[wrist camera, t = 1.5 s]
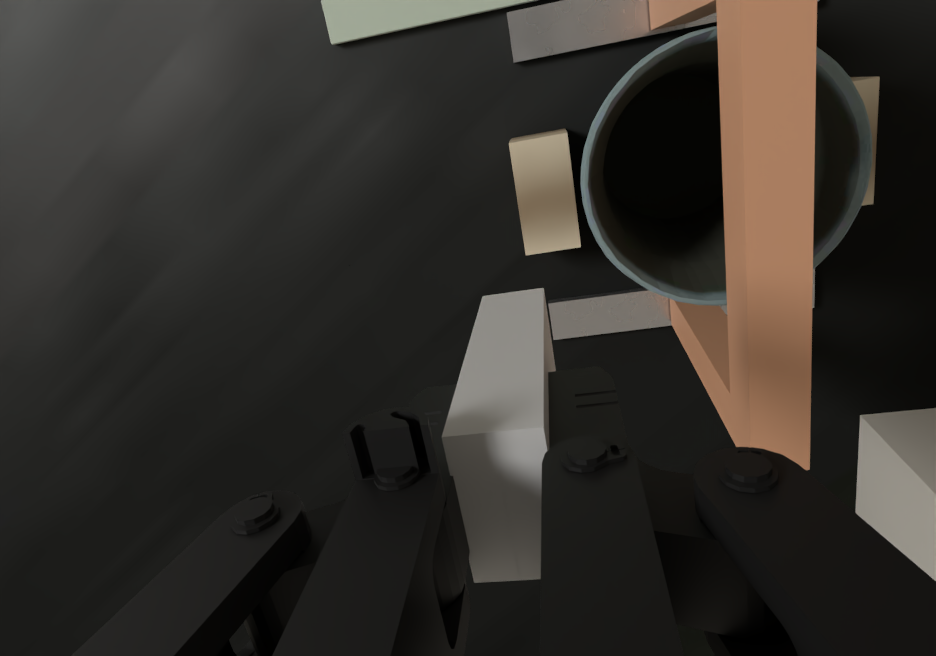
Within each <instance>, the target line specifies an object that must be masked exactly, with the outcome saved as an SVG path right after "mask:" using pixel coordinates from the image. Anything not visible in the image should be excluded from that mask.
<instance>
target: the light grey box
mask: <svg viewBox="0 0 936 656" xmlns="http://www.w3.org/2000/svg"><path fill="white" fill-rule="evenodd" d="M856 514H857V515H858V516H860V517H861V518H862V519H863V520H864V521H866V522H867V523H868V524H869V525H870V526H871V527H873V528H874V529H875V530H876V531H877V532H878V533H880V534H881V535H882V536H883V537H884V538H886V539H887V540H888V541H889V542H890V543H891V544H893V545H894V546H895V547H896V548H897V549H898V550H900V551H901V552H902V553H903V554H904V555H906V556H907V557H908V558H909V559H910V560H911V561H913V562H914V563H915V564H916V565H917V566H918V567H920V568H921V569H922V570H923V571H924V572H925V573H927V574H928V575H929V576H930V577H931V578H933V579H934V580H935V581H936V408H931V409H920V410H909V411H899V412H888V413H878V414H867V415H860V430H859V451H858V472H857V492H856Z"/></svg>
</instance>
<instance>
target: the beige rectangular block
mask: <svg viewBox="0 0 936 656" xmlns="http://www.w3.org/2000/svg"><path fill="white" fill-rule="evenodd" d="M850 78H851V80H852V82H853V83H854V85H855V87H856V89H857V91H858V93H859V94H860V96H861V98H862V100H863V102H864V105H865V108H866V111H867V115H868V118H869V122H870V127H871V134H872V167H871V173H870V178H869V184H868V188H867V191H866V194H865V197H864V200H863V203H862V206H863V205H870V204H873V202H874V182H875V161H876V141H877V121H878V101H879V81H880V77H850ZM509 148H510V155H511V161H512V168H513V174H514V181H515V187H516V194H517V200H518V207H519V213H520V220H521V227H522V233H523V240H524V246H525V253H526V255H532V254H538V253H545V252H552V251H559V250H565V249H572V248H579V247H581V242H580V234H579V226H578V217H577V209H576V201H575V192H574V184H573V176H572V167H571V159H570V151H569V142H568V134H567V131H566V129H560V130H554V131H549V132H543V133H538V134H532V135H527V136H521V137H516V138H511V140H510V142H509Z"/></svg>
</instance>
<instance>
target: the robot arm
mask: <svg viewBox="0 0 936 656" xmlns="http://www.w3.org/2000/svg"><path fill="white" fill-rule="evenodd" d="M342 435H343V439H344V442H345V446H346V449H347V453H348V456H349V460H350V463H351V467H352V470H353V474H354V477H355V482H354V484H353V487H352V489H351V491H350V493H349V495H348V497H347V499H346V500H343V501H340V502H337V503H335V504H331V505H328V506H324V507H321V508H317V509H314V510H311V511H307V512H305V509H304V506H303V503H302V500H301V499H300V498H299V497H298V496H297V495H296V494H295V493H292V492H288V491H285V490H281V491H267V492H262V493H261V494H259V493H258V494H255V495H252V496H250V497H248V498H247V499H245V500H243V501H241V502H239V503H237V504H235V505H234V506H233V507H231V508H230V509H229V510H227V511H226V512H224V513H223V514H222V515H221V516H220V517H219V518H218V519H217V520H215V521H214V522H213V523H212V524H211V525H210V526H209V527H208V528H207V529H206V530H205V531H204V532H203V533H202V534H201V535H199V536H198V537H197V538H196V539H195V540H194V541H193V542H192V543H191V544H190V545H189V546H188V547H187V548H186V549H185V550H183V551H182V552H181V553H180V554H179V555H178V556H177V557H176V558H175V559H174V560H173V561H172V562H171V563H170V564H169V565H168V566H166V567H165V568H164V569H163V570H162V571H161V572H160V573H159V574H158V575H157V576H156V577H155V578H154V579H153V580H152V581H150V582H149V583H148V584H147V585H146V586H145V587H144V588H143V589H142V590H141V591H140V592H139V593H138V594H137V595H136V596H134V597H133V598H132V599H131V600H130V601H129V602H128V603H127V604H126V605H125V606H124V607H123V608H122V609H121V610H120V611H118V612H117V613H116V614H115V615H114V616H113V617H112V618H111V619H110V620H109V621H108V622H107V623H106V624H105V625H104V626H103V627H101V628H100V629H99V630H98V631H97V632H96V633H95V634H94V635H93V636H92V637H91V638H90V639H89V640H88V641H87V642H85V643H84V644H83V645H82V646H81V647H80V648H79V649H78V650H77V651H76V652H75V653H74V654H73V655H72V656H464V653H465V646H466V639H467V631H468V624H469V617H470V609H471V608H470V599H469V594H468V589H467V585H466V581H465V578H466V572H467V566H468V559H469V562H470V566H471V571H472V575H473V580H474V583H480V582H498V581H515V580H532V579H541V592H540V656H684V654H683V650H682V646H681V642H680V637H679V633H678V629H677V625H682V626H686V627H691V628H695V629H699V630H704V633H705V636H706V639H707V642H708V644H709V646H710V647H711V649H712V651H713V652H714V654H715V656H936V581H935V580H934V579H933V578H931V577H930V576H929V575H928V574H927V573H925V572H924V571H923V570H922V569H921V568H920V567H918V566H917V565H916V564H915V563H914V562H913V561H911V560H910V559H909V558H908V557H907V556H906V555H904V554H903V553H902V552H901V551H900V550H898V549H897V548H896V547H895V546H894V545H893V544H891V543H890V542H889V541H888V540H887V539H886V538H884V537H883V536H882V535H881V534H880V533H878V532H877V531H876V530H875V529H874V528H873V527H871V526H870V525H869V524H868V523H867V522H866V521H864V520H863V519H862V518H861V517H860V516H858V515H857V514H856V513H855V512H854V511H853V510H851V509H850V508H849V507H848V506H847V505H846V504H844V503H843V502H842V501H841V500H840V499H839V498H837V497H836V496H835V495H834V494H833V493H831V492H830V491H829V490H828V489H827V488H826V487H824V486H823V485H822V484H821V483H820V482H819V481H817V480H816V479H815V478H814V477H813V476H811V475H810V474H809V473H808V472H807V471H806V470H804V469H803V468H802V467H801V466H800V465H799V464H797V463H796V462H794V461H792V460H791V459H789V458H787V457H786V456H784V455H782V454H779V453H775V452H772V451H769V450H765V449H761V448H754V447H751V448H750V447H735V448H726V449H720V450H718V451H715V452H712V453H710V454H707V455H705V456H704V457H703V458H702V459H701V460H700V461H699V462H698V463H696V466H695V470H694V474H684V473H676V472H670V471H665V470H660V469H658V468H655V467H652V466H649V465H647V464H645V463H644V462H642V461H640V460H639V459H638V458H637V457H636V456H635V454H634V452H633V451H632V449H631V447H630V446H629V445H628V441H627V437H626V432H625V428H624V424H623V420H622V415H621V411H620V407H619V404H618V399H617V394H616V390H615V386H614V382H613V377H612V376H611V375H609V374H608V373H607V372H606V371H604V370H603V369H602V368H600V367H599V366H597V367H589V368H580V369H571V370H562V371H556V370H555V363H554V356H553V349H552V342H551V335H550V328H549V321H548V314H547V307H546V300H545V294H544V288H539V289H532V290H524V291H517V292H510V293H503V294H495V295H488V296H483V297H482V300H481V304H480V307H479V311H478V314H477V318H476V321H475V324H474V328H473V331H472V335H471V338H470V342H469V345H468V348H467V352H466V355H465V359H464V362H463V365H462V369H461V372H460V376H459V379H458V383H457V384H456V385H448V386H439V387H430V388H425V389H424V390H423V391H422V392H420V393H419V394H418V395H417V396H416V397H415V398H414V399H412V400H411V402H410V404H409V406H408V407H395V408H390V409H385V410H380V411H376V412H374V413H371V414H369V415H366V416H363V417H362V418H360V419H358V420H357V421H355V422H354V423H352V424H350V425H349V427H348V428H347V429H346V430H345V431H344V432H343V433H342ZM243 622H244V624H245V627H246V629H247V632H248V634H249V637H250V639H251V640H250V641H249V643H248V644H247V645H246V646H245V648H243V649H242V650H241V651H240V652H239V653H238V654H235V653H234V652H233V649H232V647H231V645H230V642H229V639H230V638H231V636H232V635H233V634H234V633H235V632H236V630H237V629H238V628H239V627H240V626H241V624H242V623H243ZM676 624H677V625H676Z"/></svg>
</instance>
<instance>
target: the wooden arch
mask: <svg viewBox="0 0 936 656" xmlns="http://www.w3.org/2000/svg"><path fill="white" fill-rule="evenodd" d="M649 11H650V25H651V30H655V29H660V28H665V27H670V26H675V25H679V24H684V23H689V22H693V21H696V20H698V19H701V18H703V17H706V16H708V15H711V14H713V13H716V12H717V39H718V67H719V95H720V123H721V151H722V179H723V207H724V235H725V263H726V291H727V315H726V314H725V312H724V311H723V310H722V309H721V307H720V306H712V305H695V304H689V303H683V302H678V301H675V300H672V299H670V310H671V324H672V326H673V328H674V330H675V332H676V334H677V336H678V338H679V339H680V341H681V343H682V345H683V347H684V349H685V351H686V353H687V354H688V356H689V358H690V360H691V362H692V364H693V366H694V368H695V370H696V371H697V373H698V375H699V377H700V379H701V381H702V383H703V385H704V387H705V388H706V390H707V392H708V394H709V396H710V398H711V400H712V402H713V404H714V405H715V407H716V409H717V411H718V413H719V415H720V417H721V419H722V421H723V422H724V424H725V426H726V428H727V430H728V432H729V434H730V436H731V438H732V439H733V441H734V443H735V445H736V447H750V448H751V447H754V448H761V449H765V450H769V451H772V452H775V453H779V454H782V455H784V456H786V457H787V458H789V459H791V460H792V461H794V462H796V463H797V464H799V465H800V466H801V467H802V468H803V469H804V470H810V417H811V355H812V292H813V229H814V166H815V103H816V40H817V0H649Z"/></svg>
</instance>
